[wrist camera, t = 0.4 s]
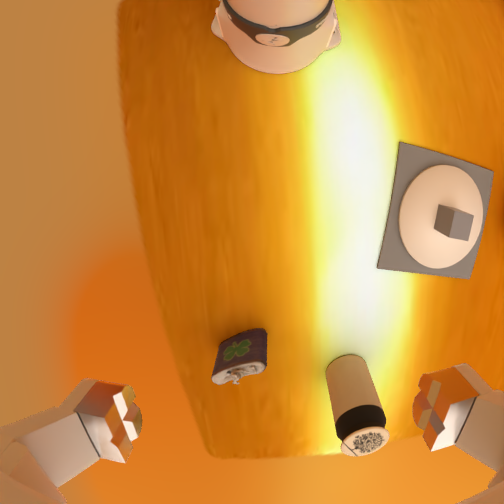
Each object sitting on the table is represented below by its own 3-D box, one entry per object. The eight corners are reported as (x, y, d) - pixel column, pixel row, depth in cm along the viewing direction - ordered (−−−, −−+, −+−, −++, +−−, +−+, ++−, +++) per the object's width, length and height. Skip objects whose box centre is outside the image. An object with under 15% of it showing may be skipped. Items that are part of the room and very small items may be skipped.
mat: (399, 142, 40) (400, 142, 39) (492, 171, 39) (493, 171, 39) (376, 267, 46) (377, 268, 46) (468, 278, 46) (469, 279, 45)
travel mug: (359, 347, 51) (386, 420, 34) (370, 375, 53) (394, 444, 36) (319, 364, 53) (332, 440, 36) (333, 390, 55) (347, 462, 38)
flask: (223, 354, 53) (214, 394, 43) (215, 341, 52) (203, 381, 42) (270, 336, 51) (269, 377, 41) (262, 323, 51) (260, 363, 40)
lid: (407, 153, 40) (426, 155, 34) (487, 177, 39) (508, 182, 34) (388, 260, 45) (401, 275, 40) (466, 270, 45) (483, 284, 39)
